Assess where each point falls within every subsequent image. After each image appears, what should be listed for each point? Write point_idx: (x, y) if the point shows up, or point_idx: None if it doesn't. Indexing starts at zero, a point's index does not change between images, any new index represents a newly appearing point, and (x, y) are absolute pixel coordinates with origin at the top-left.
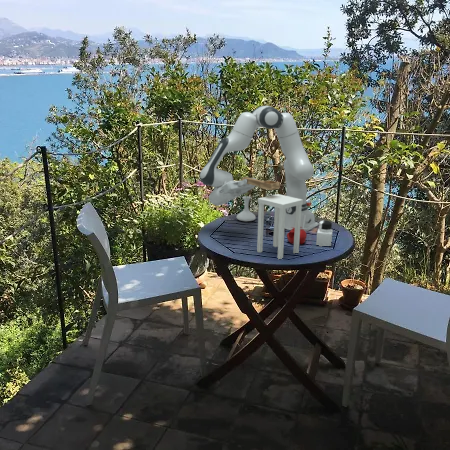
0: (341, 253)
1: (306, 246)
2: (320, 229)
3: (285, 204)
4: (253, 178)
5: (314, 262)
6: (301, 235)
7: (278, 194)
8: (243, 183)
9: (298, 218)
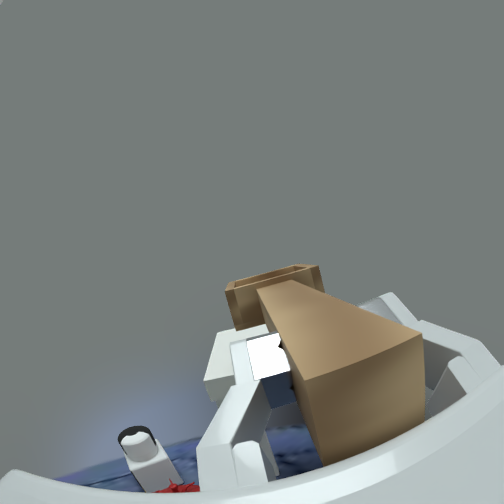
0: (192, 440)
1: None
2: (155, 450)
3: None
4: (36, 478)
5: (282, 427)
6: (196, 485)
7: (211, 375)
8: None
9: None
